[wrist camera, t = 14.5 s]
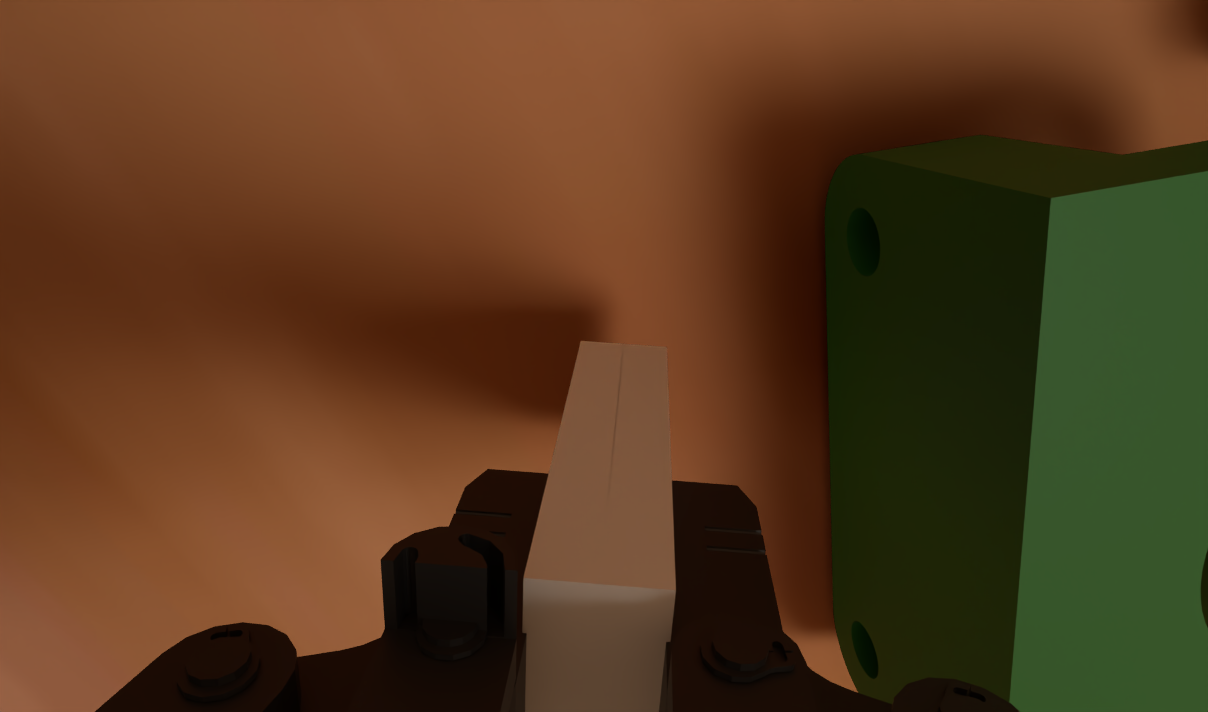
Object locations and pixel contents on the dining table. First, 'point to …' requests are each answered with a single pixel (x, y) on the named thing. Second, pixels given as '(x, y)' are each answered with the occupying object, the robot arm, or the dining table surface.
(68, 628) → the dining table surface
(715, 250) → the dining table surface
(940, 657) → the clamp
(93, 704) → the dining table surface
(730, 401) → the dining table surface
